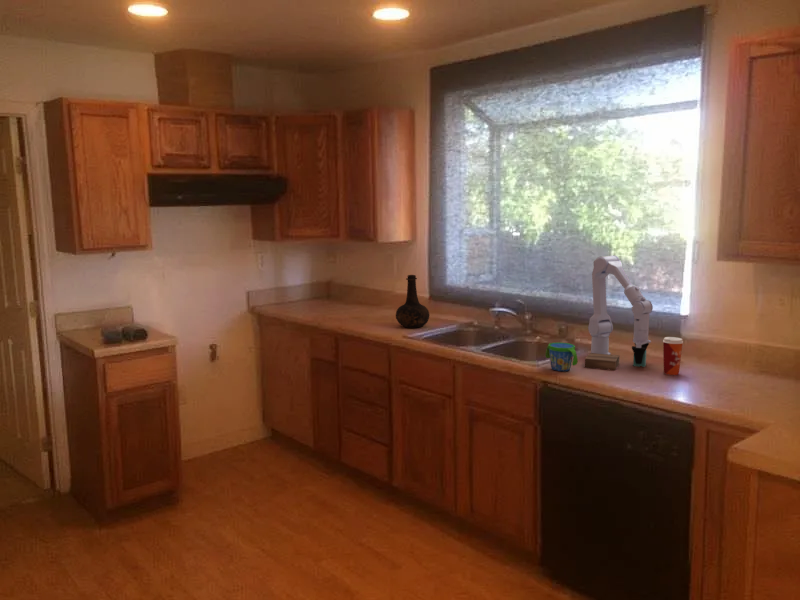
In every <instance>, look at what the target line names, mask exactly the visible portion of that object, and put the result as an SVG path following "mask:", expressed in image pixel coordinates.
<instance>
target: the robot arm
mask: <svg viewBox="0 0 800 600" xmlns="http://www.w3.org/2000/svg"><path fill="white" fill-rule="evenodd" d="M592 264H593V269H592V272H591V273H592V274H591V280H592V281H591V282H592V284H591V285H592V304H593V314H592V315H591V317H589V322H588V323H589V324H588V326H587V327H588V328H587V329H588V333H589V334H590V337H591V344H590V345H591V346H590V349H591V350H590V353H597V354H608V355H612V354H611V352H609V347H610V340H609V339H610V338H609V337H610V336H611V333H612V332H613V330H614V325H613V322H612V318H611V316H610V315H609V314H608V310H607V306H608V305H607V286H606V285H607V282H606V277H608V275H609V274H610V275H614V277H615V278H616V279H617V281H618V282H619V283H620V285H621V286H622V288H624V291H623V292H624V295H625V297H626V298H627V300H628V301H629V303H630V305H631V306H632V307H631V311H632V314H633V319H634V322H633V324H634V325H633V338H632V342H633V343H634V346H631V350H632V352H633V357H634V356H635V362H636V364H641V363H642V360H643V355H644V352H645V350H646V351H647V348H648V346H649V345H650V343H652V340H650V339H649V329H650V314H651V313H652V312H653V308H654V307H653V303H652V301H651V300H649V299H647V298H646V297H645V296H644V295H643V294H642V292H641V291H640V288H639V286H637V285H634V284H633V283H632V282H631V280H630V279H629V276H628V275H627V273H626V271H625V270H624V268H623V263H622V260H620V258H619V257H618V256H617V255H615V254H614V255H613V254H612V255H607V256H597V258H596V259H595V260H594V261H593V263H592Z"/></svg>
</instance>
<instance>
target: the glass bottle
mask: <svg viewBox="0 0 800 600" xmlns="http://www.w3.org/2000/svg"><path fill="white" fill-rule="evenodd" d="M417 279H418V278H417V275H414V274H408V275H407V278H406V279H405V280H407V285H406V286H407V289H406V300H405V302H404V304H402V305H400V306H399V307H398V308H397V310H396V312H395V319H396V321H397V322H398V323H399V325H400V326H402V327H403V328H407V329H417V328H422V327H423V326H425V325H426V324H427V323H428V321H429V319H430V311H429V309H428V308H427V306H425V305H423V304H421V303H420V301H419V298H418V293H417V292H418V291H417Z"/></svg>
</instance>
